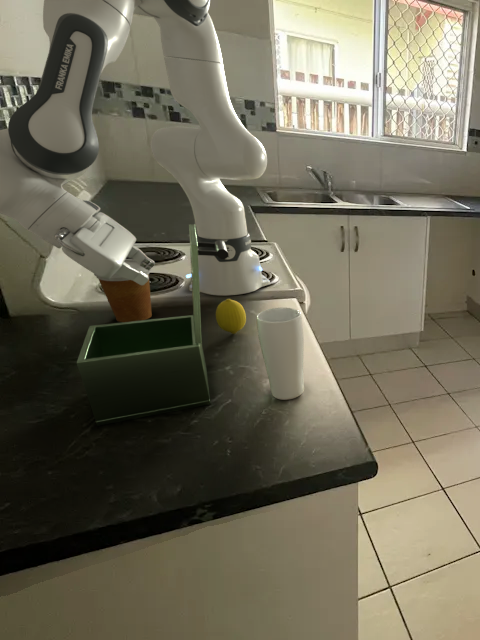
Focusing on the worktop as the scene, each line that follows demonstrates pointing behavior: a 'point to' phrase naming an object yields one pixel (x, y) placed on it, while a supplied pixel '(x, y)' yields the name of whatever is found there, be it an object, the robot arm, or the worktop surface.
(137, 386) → the green tapered box
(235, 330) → the lemon
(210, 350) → the worktop surface
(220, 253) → the lid
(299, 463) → the worktop surface
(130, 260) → the disposable coffee cup
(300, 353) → the drinking glass
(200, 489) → the worktop surface
